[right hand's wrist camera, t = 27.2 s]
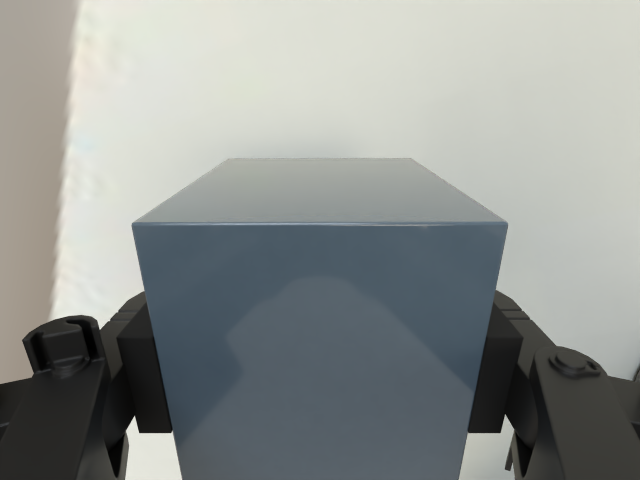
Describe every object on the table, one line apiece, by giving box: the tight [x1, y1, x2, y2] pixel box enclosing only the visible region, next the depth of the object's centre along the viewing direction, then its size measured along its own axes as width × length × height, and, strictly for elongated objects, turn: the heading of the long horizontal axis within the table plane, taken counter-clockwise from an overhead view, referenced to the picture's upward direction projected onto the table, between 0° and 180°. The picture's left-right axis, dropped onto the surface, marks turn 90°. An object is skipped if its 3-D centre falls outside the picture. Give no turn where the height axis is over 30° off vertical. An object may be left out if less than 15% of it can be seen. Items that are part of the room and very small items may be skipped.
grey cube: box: [132, 158, 508, 480], centre depth 12 cm, size 8×7×8 cm
